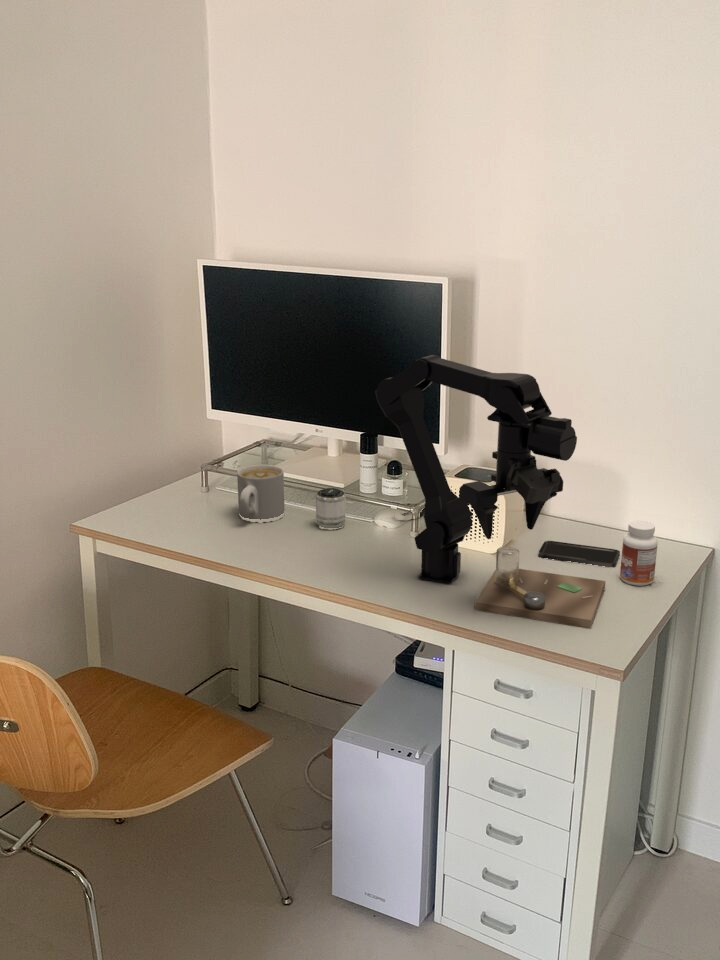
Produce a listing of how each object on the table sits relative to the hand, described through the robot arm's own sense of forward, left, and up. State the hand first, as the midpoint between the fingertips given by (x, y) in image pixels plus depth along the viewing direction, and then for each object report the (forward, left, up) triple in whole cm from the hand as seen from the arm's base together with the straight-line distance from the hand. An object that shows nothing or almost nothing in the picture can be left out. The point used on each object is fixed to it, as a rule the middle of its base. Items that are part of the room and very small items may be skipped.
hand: (509, 533), depth 179 cm
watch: (-29, +33, -13) cm, 45 cm away
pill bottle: (+21, +16, -12) cm, 29 cm away
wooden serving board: (+6, +1, -12) cm, 14 cm away
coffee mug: (-60, +21, -12) cm, 65 cm away
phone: (+9, +24, -13) cm, 28 cm away
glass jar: (-43, +22, -12) cm, 50 cm away
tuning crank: (+2, -2, -10) cm, 11 cm away
